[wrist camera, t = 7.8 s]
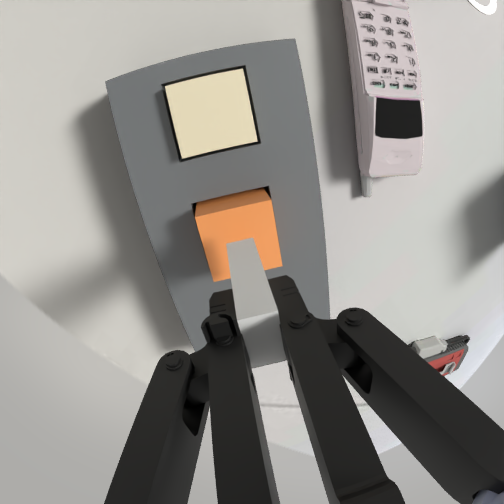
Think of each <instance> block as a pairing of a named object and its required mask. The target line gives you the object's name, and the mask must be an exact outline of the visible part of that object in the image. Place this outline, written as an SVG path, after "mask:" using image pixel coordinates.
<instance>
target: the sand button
mask: <svg viewBox="0 0 504 504" xmlns="http://www.w3.org/2000/svg"><path fill="white" fill-rule="evenodd" d="M165 89H166V94H167V98H168V102H169V107H170V111H171V115H172V120H173V124H174V128H175V132H176V136H177V140H178V144H179V148H180V152H181V156H182V159H183V158H187V157H191V156H194V155H198V154H203V153H207V152H211V151H215V150H219V149H224V148H228V147H233V146H237V145H242V144H247V143H252V142H257V136H256V131H255V126H254V120H253V115H252V110H251V105H250V101H249V96H248V91H247V86H246V81H245V76H244V72H243V69H238V70H232V71H227V72H222V73H217V74H212V75H208V76H203V77H199V78H195V79H191V80H186V81H183V82H179V83H175V84H171V85H168V86H165Z"/></svg>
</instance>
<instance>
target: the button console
mask: <svg viewBox="0 0 504 504" xmlns="http://www.w3.org/2000/svg"><path fill="white" fill-rule="evenodd" d="M238 69H243V72H244V76H245V81H246V86H247V91H248V96H249V101H250V105H251V110H252V115H253V120H254V126H255V131H256V136H257V142H252V143H247V144H242V145H237V146H233V147H228V148H224V149H219V150H215V151H211V152H207V153H203V154H198V155H194V156H191V157H187V158H183V159H182V156H181V152H180V148H179V144H178V140H177V136H176V132H175V128H174V124H173V120H172V115H171V111H170V107H169V102H168V98H167V94H166V89H165V86H168V85H171V84H175V83H179V82H183V81H186V80H191V79H195V78H199V77H203V76H208V75H212V74H217V73H222V72H227V71H232V70H238ZM105 83H106V88H107V92H108V97H109V101H110V106H111V110H112V114H113V118H114V122H115V126H116V130H117V134H118V138H119V142H120V145H121V149H122V153H123V156H124V160H125V163H126V167H127V170H128V174H129V177H130V180H131V184H132V187H133V190H134V193H135V197H136V200H137V203H138V206H139V209H140V212H141V215H142V218H143V221H144V224H145V227H146V230H147V233H148V236H149V238H150V241H151V244H152V247H153V250H154V252H155V255H156V258H157V261H158V263H159V266H160V269H161V271H162V274H163V276H164V279H165V282H166V284H167V287H168V289H169V292H170V294H171V297H172V299H173V302H174V304H175V306H176V309H177V311H178V314H179V316H180V318H181V321H182V323H183V325H184V328H185V330H186V332H187V335H188V337H189V339H190V341H191V344H192V346H193V348H194V350H195V352H197V351H198V350H200V349H202V348H203V347H204V346H205V345H206V344H207V342H206V339H205V337H204V334H203V332H202V329H201V324H202V322H203V321H204V320H205V318H207V317H208V316H210V312H209V309H210V308H209V299H210V298H211V296H212V294H213V293H214V292H219V291H223V290H228V289H232V283H231V278H229V279H225V280H221V281H216V282H214V281H213V278H212V274H211V271H210V268H209V264H208V261H207V258H206V254H205V251H204V248H203V244H202V241H201V237H200V234H199V230H198V227H197V223H196V220H195V212H196V204H197V202H200V201H204V200H208V199H212V198H216V197H220V196H224V195H229V194H233V193H238V192H242V191H246V190H251V189H256V188H260V187H263V188H264V189H265V191H266V192H267V194H268V196H269V197H270V199H271V201H272V206H273V212H274V218H275V224H276V230H277V236H278V241H279V247H280V254H281V260H282V266H281V267H276V268H272V269H268V270H264V271H265V274H266V277H267V279H271V278H275V277H279V276H284V275H287V276H289V277H290V278H292V279H293V280H294V282H295V284H296V286H297V288H298V290H299V292H300V294H301V297H302V299H303V301H304V303H305V305H306V307H307V309H308V311H309V312H310V313H312V314H313V315H314V317H316V318H319V319H327V320H329V319H330V304H329V285H328V270H327V256H326V243H325V232H324V221H323V211H322V202H321V193H320V184H319V176H318V168H317V161H316V153H315V146H314V139H313V133H312V126H311V120H310V114H309V108H308V102H307V96H306V91H305V85H304V80H303V75H302V69H301V64H300V59H299V55H298V50H297V45H296V41H295V39H284V40H274V41H265V42H257V43H249V44H243V45H236V46H231V47H225V48H220V49H214V50H210V51H205V52H200V53H196V54H192V55H187V56H183V57H179V58H176V59H172V60H168V61H165V62H161V63H158V64H154V65H151V66H148V67H145V68H141V69H138V70H135V71H132V72H129V73H127V74H124V75H121V76H118V77H116V78H113V79H110V80H108V81H105Z"/></svg>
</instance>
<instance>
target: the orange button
mask: <svg viewBox="0 0 504 504" xmlns="http://www.w3.org/2000/svg"><path fill="white" fill-rule="evenodd" d="M195 220H196V223H197V227H198V230H199V234H200V237H201V241H202V244H203V248H204V251H205V254H206V258H207V261H208V264H209V268H210V271H211V274H212V278H213V281H214V282H216V281H221V280H225V279H229V278H231V276H230V269H229V261H228V254H227V247H226V244H227V243H231V242H235V241H240V240H244V239H248V238H253V239H254V242H255V245H256V248H257V251H258V253H259V256H260V259H261V262H262V265H263V268H264V270H268V269H272V268H276V267H281V266H282V260H281V254H280V247H279V241H278V236H277V230H276V224H275V218H274V212H273V206H272V201H271V199H270V197H269V196H268V194H267V192H266V191H265V189H264V188H263V187H260V188H256V189H251V190H246V191H242V192H238V193H233V194H229V195H224V196H220V197H216V198H212V199H208V200H204V201H200V202H197V204H196V212H195Z"/></svg>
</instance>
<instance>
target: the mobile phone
mask: <svg viewBox="0 0 504 504" xmlns="http://www.w3.org/2000/svg"><path fill="white" fill-rule="evenodd" d="M408 8H409V6H408V4H407V3H405V0H342V10H343V17H344V24H345V31H346V39H347V47H348V56H349V65H350V74H351V83H352V92H353V103H354V116H355V130H356V141H357V151H358V163H359V169H360V170H361V173H360V176H361V189H362V196H363V197H371V193H372V181H373V178H377V177H390V176H405V175H416V174H418V173H419V172H420V170H421V168H422V159H423V147H424V99H423V98H422V86H421V76H420V69H419V62H418V55H417V49H416V44H415V38H414V33H413V28H412V24H411V19H410V15H409V11H408Z"/></svg>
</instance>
